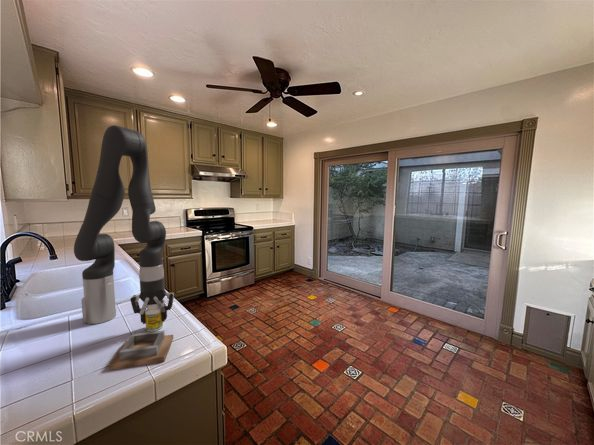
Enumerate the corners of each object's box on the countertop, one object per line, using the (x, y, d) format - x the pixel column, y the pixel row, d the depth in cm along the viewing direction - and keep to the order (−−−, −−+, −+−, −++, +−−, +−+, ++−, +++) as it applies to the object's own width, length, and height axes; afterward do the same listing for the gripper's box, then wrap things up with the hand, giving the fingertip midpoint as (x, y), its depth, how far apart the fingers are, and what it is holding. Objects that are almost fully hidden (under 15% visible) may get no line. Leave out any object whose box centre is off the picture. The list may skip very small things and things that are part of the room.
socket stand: (108, 370, 67) (107, 356, 67) (125, 344, 79) (125, 333, 78) (164, 361, 71) (163, 348, 71) (173, 338, 83) (172, 327, 82)
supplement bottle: (162, 323, 93) (161, 298, 92) (163, 329, 88) (162, 304, 87) (145, 327, 90) (144, 302, 89) (146, 333, 85) (144, 307, 84)
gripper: (176, 272, 93) (177, 314, 94) (133, 275, 89) (135, 319, 90) (171, 278, 85) (173, 324, 87) (124, 282, 82) (127, 329, 83)
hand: (154, 321), depth 89 cm, fingers open, 5 cm apart
